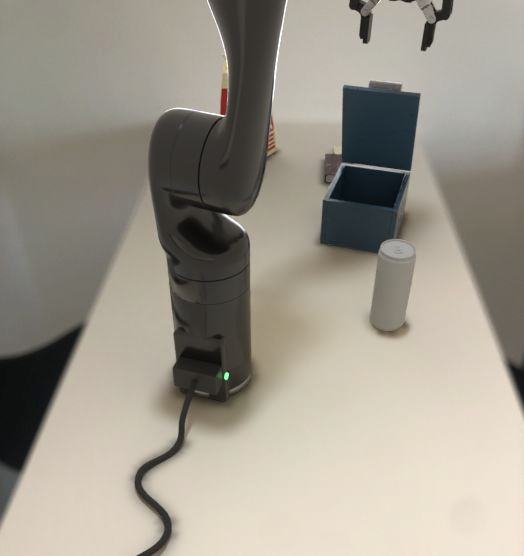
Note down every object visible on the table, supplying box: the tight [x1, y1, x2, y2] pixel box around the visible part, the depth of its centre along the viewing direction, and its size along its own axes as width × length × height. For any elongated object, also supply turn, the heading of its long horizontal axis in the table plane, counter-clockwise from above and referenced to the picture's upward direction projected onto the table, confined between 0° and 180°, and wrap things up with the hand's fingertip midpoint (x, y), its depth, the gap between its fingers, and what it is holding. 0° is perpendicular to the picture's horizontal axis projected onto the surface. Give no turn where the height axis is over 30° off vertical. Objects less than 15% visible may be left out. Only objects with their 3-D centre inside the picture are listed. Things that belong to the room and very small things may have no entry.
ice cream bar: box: [323, 145, 354, 184], centre depth 130 cm, size 5×2×15 cm
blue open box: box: [319, 163, 411, 254], centre depth 111 cm, size 14×12×8 cm
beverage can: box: [369, 238, 417, 332], centre depth 90 cm, size 5×5×12 cm
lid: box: [341, 79, 422, 172], centre depth 108 cm, size 14×12×5 cm
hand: (394, 46), depth 99 cm, fingers open, 8 cm apart
